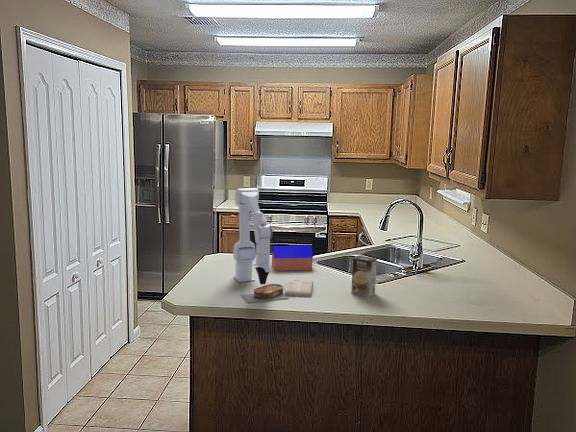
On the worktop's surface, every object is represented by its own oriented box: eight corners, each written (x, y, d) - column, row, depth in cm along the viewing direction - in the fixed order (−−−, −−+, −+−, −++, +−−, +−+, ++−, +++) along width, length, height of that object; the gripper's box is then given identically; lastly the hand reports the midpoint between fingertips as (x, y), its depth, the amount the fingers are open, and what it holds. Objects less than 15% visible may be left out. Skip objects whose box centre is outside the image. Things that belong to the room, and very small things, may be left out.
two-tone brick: (270, 265, 270) (271, 243, 268) (308, 264, 274) (308, 242, 272) (274, 271, 259) (274, 248, 257) (312, 270, 262) (313, 248, 260)
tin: (272, 282, 230) (287, 285, 224) (272, 289, 230) (287, 292, 225) (249, 290, 218) (264, 293, 213) (249, 297, 218) (264, 300, 213)
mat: (241, 295, 220) (241, 295, 220) (280, 291, 226) (280, 291, 226) (247, 303, 211) (247, 302, 211) (288, 298, 217) (288, 298, 217)
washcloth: (312, 285, 238) (313, 279, 237) (312, 298, 220) (312, 291, 220) (287, 284, 239) (287, 278, 238) (284, 297, 221) (284, 290, 220)
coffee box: (350, 293, 226) (351, 257, 223) (356, 289, 231) (358, 255, 228) (369, 297, 221) (371, 261, 218) (375, 293, 226) (377, 258, 223)
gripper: (249, 249, 223) (248, 279, 225) (259, 257, 210) (258, 289, 212) (264, 248, 226) (264, 278, 228) (275, 256, 212) (274, 288, 215)
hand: (262, 283), depth 220 cm, fingers closed
